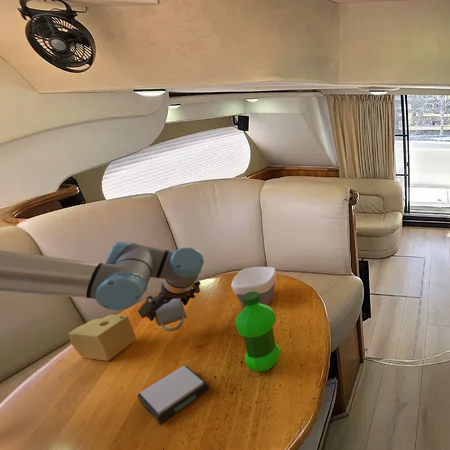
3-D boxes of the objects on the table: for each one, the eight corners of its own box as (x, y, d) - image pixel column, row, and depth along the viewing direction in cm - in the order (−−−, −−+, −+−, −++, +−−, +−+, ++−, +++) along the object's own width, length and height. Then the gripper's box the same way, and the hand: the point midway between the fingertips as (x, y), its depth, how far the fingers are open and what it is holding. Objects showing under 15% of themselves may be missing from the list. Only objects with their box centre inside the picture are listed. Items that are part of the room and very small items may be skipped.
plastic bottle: (239, 367, 94) (222, 297, 85) (271, 347, 102) (258, 281, 93) (257, 384, 89) (241, 311, 80) (289, 361, 96) (278, 293, 87)
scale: (160, 425, 77) (157, 416, 76) (139, 401, 83) (136, 392, 82) (209, 390, 87) (207, 381, 86) (187, 371, 93) (185, 363, 92)
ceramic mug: (155, 320, 105) (149, 301, 102) (184, 310, 110) (179, 292, 107) (160, 337, 98) (153, 317, 95) (190, 325, 103) (185, 306, 100)
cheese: (111, 336, 107) (101, 312, 103) (139, 339, 105) (130, 315, 102) (78, 359, 97) (66, 333, 93) (108, 363, 96) (97, 337, 92)
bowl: (245, 290, 133) (240, 267, 129) (282, 287, 135) (279, 265, 131) (231, 312, 119) (225, 287, 115) (273, 309, 121) (268, 285, 117)
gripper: (140, 312, 82) (133, 337, 95) (222, 276, 99) (206, 302, 113) (125, 289, 82) (120, 317, 96) (210, 257, 100) (195, 285, 113)
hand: (167, 309), depth 104 cm, fingers closed on ceramic mug, 9 cm apart
